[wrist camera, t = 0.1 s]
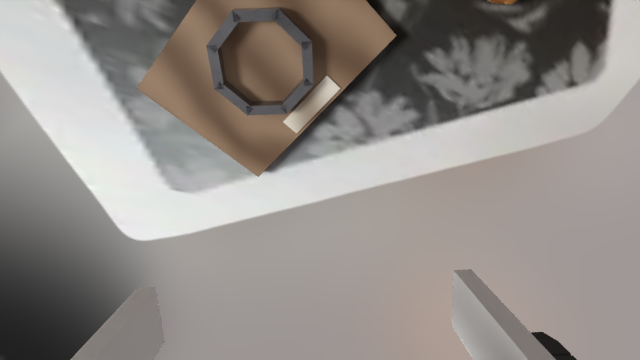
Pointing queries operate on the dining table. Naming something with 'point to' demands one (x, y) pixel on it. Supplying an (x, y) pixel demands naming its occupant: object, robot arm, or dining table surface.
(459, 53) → the dining table surface
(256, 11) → the ring socket
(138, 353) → the robot arm
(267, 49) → the walnut board
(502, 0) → the pastry
